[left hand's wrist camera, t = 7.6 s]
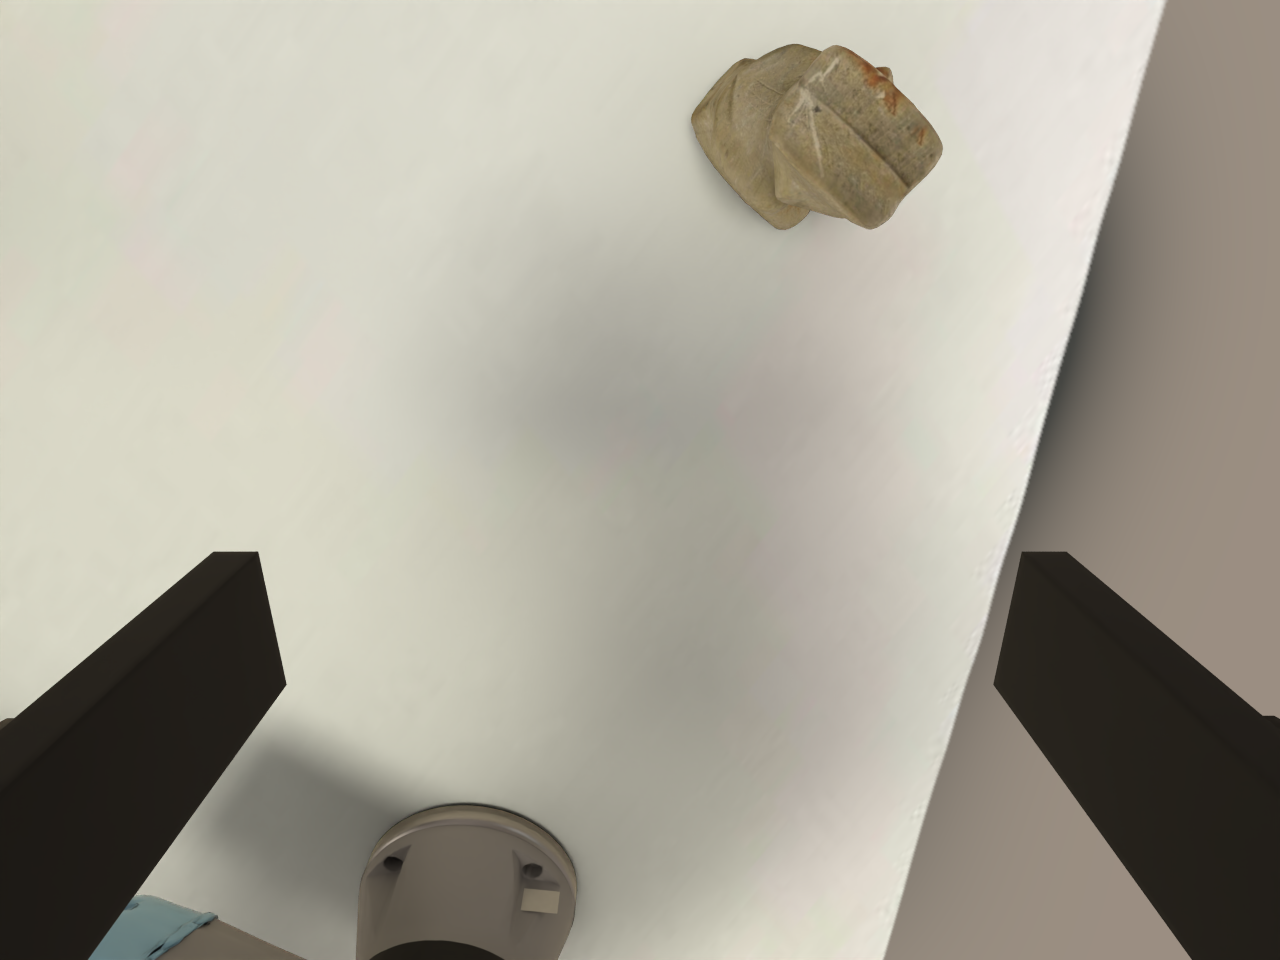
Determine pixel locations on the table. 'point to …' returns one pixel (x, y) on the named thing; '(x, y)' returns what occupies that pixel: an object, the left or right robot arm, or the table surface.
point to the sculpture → (815, 136)
